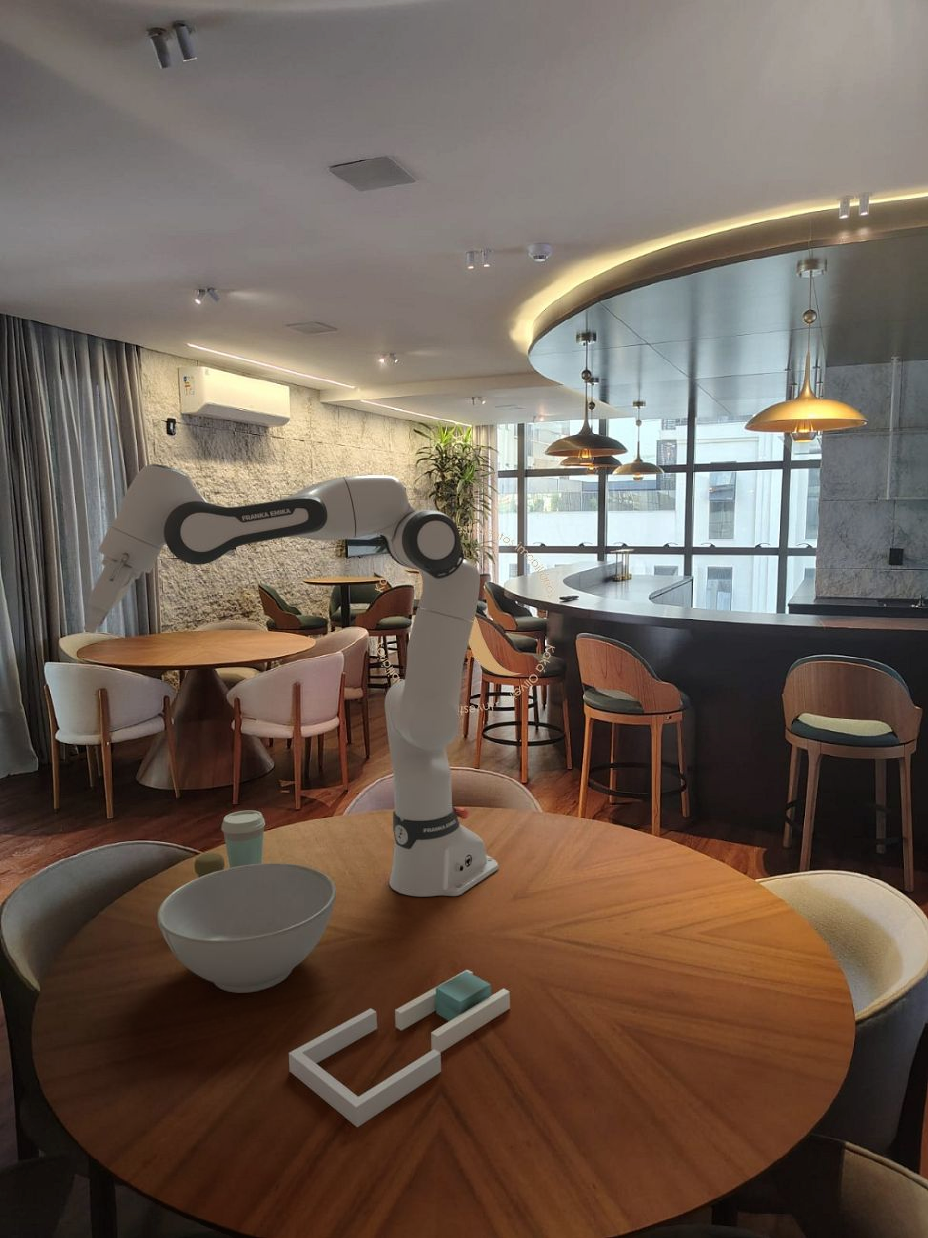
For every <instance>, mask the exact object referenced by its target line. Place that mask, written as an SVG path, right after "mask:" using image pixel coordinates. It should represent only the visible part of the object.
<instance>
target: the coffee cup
mask: <svg viewBox="0 0 928 1238" xmlns="http://www.w3.org/2000/svg"><path fill="white" fill-rule="evenodd" d="M265 825H266V822H265V818H264V816H263V814H262V813H261V812H260V811H257V810H252V809H251V810H239V811H238V810H237V811H234V812H232V813H229V814H227V815H225V816H224V817H223V821H222V823H221V828H220V829H221V831H222V833H223V838H224V843H225V847H226V853H227V858H228V863H229V868H233V867H238V866H244V865H251V864H262V863H263V862H262V861H263V846H264V845H263V844H264V831H265V829H264V827H265Z"/></svg>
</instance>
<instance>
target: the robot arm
mask: <svg viewBox="0 0 928 1238" xmlns="http://www.w3.org/2000/svg"><path fill="white" fill-rule="evenodd" d="M406 490H407V489H406V488H405V486H404V485H403V483H402V482H401V481H400V480H399V479H398V478H397V477H396V476H393V475H390V474H357V475H350V476H343V477H336V478H332V479H327V480H324V481H320V482H316V483H314V484H311V485H308V486H306V487H304V488H302V489H301V490H299V491H297V492H296V493H293V494H291V495H289V496H287V497H284V498H281V499H276V500H272V501H271V500H270V501H264V502H258V503H254V504H246V505H239V506H222V505H218V504H214V503H211V502H210V503H209V502H208V500H206V498H205V497H204V496H203V494H202V493H200V491H199V490H198V488H197V487H196V485H195V484H194V483H193V480H192V478H191V476H190V475H189V474H188V473H186V472H184V471H182V470H179V469H177V468H174V467H171V466H167V465H163V464H159V463H158V464H157V463H154V464H153V463H151V464H148V465H145V466H143V467H142V468H141V469H140V470H139V471H138V472H137V474H136V476H135V477H134V479H133V480H132V482H131V484H130V485H129V487H128V489H127V491H126V492H125V494H124V496H123V499H122V500H121V503H120V510H119V512H118V514H117V516H116V518H115V519H114V520H113V521H112V522H111V523H110V525H109V527H108V530H107V531H106V532H105V533H106V534H105V535H104V538H103V539H102V542H101V544H100V545H99V548H98V549H97V551H98V553H100V554H102V555H104V556H103V559H102V561H101V565H103V566H104V567H103V569H102V571H101V573H100V575H99V577H98V579H97V581H96V582H95V585H94V587H93V589H92V591H91V593H90V595H89V598H88V601H87V603H88V604H89V605H91V608H90V610H89V613H88V617H87V619H86V622H85V624H84V626H83V629H84V631H86V632H88V633H90V634H95V632H96V631H97V629H98V627H101V626H102V625H103V624H104V622H105V620H106V618H107V616H108V614H109V613H110V611H111V610H112V609H114V608H115V607H116V606H117V605H118V604H119V603H120V602H121V601H122V600H123V599H124V597H125V596H126V594H127V593H128V592H129V590H130V588H131V587H132V585H133V583H134V582H135V580H138V579H140V576H141V574H142V573H147V574H150V573H151V572H152V570H153V567H154V566H155V564H156V562H157V560H158V557H159V555H160V553H161V552H162V549H163V547H164V546H165V545H166V546H167V548H168V550H169V551H170V552H171V554H173V556H174V557H176V558H177V559H178V560H180V561H181V562H184V563H187V564H189V565H190V564H191V565H195V566H196V565H198V566H199V565H206V564H210V563H213V562H214V561H216V560H217V561H218V559H220V558H222V557H223V556H224V555H226V554H227V553H228V552H230V551H231V550H233V549H235V548H238V547H241V546H245V545H251V544H255V543H261V542H267V541H272V540H277V539H283V538H284V539H285V538H301V539H307V540H312V541H321V542H322V541H324V542H325V541H327V542H328V541H331V542H332V541H343V540H349V539H355V538H359V537H366V536H371V535H372V536H373V535H374V536H375V535H379V537H380V539H381V540H382V542H383V544H384V546H385V549H386V550H387V552H388V555H389V556H390V558H392V560H393V561H395V562H396V563H397V564H398V565H400V566H402V567H405V568H409V569H411V570H415V571H418V572H419V573H420V576H421V578H422V579H421V580H422V586H421V594H420V598H419V601H418V604H417V609H416V612H415V616H414V619H413V620H414V621H413V624H412V627H411V632H410V635H409V640H408V642H407V647H406V653H407V657H406V658H407V659H406V669H405V679H402V680H399V681H397V682H395V683H394V684H392V686H391V687H390V688H389V689H388V691H387V692H386V695H385V698H384V713H385V718H386V719H385V721H386V731H387V739H388V746H389V752H390V753H389V754H390V760H391V765H392V766H391V767H392V773H393V774H392V775H393V797H394V799H393V801H394V810H393V812H392V828H393V829H392V831H393V837H394V850H393V861H392V869H391V873H390V878H389V883H388V884H389V886H390V887H391V889H392V890H394V891H396V892H397V893H399V894H403V895H406V896H411V897H436V896H448V897H458V896H460V895H462V894H464V893H465V892H466V891H468V890H469V889H471V888H472V887H474V886H476V884H479V883H480V882H481V881H483V880H484V879H486V878H487V877H489V876H490V875H492V874H494V873H495V872H496V871H497V870H499V863H498V862H497V860H495V858H493V857H491V856H489V855H487V851H486V846H485V842H484V840H483V839H482V838H481V836H479V835H478V834H477V833H475V832H474V831H472V830H470V829H468V828H467V827H465V826H464V825H463V824H461V823H460V822H459V818H460V819H463V820H466V819H467V818H468V816H469V813H470V812H469V809H467V808H464V807H462V806H459V807H457V808H456V807H455V806H453V802H452V799H453V798H452V771H451V766H450V762H449V759H448V754H447V749H446V747H447V746H449V745H450V744H451V743H453V742H454V740H455V738H456V737H457V735H458V733H459V731H460V716H459V714H460V712H459V708H460V701H461V699H460V698H461V691H462V679H463V669H464V663H465V662H464V661H465V657H466V653H467V649H468V646H469V642H470V637H471V633H472V630H473V627H474V626H473V625H474V622H475V617H476V614H477V607H478V603H479V597H480V587H481V574H480V571H479V570H478V569H479V568H477V567H476V566H475V565H474V564H473V563H472V562H471V561H470V560H468V559H465V554H464V550H463V546H462V540H461V535H460V532H459V528H458V526H457V524H456V523H455V522H454V520H453V519H452V518H451V517H450V516H448V515H447V514H445V513H443V512H442V511H439V510H434V509H433V510H432V509H415V508H414V507H413V506H412V505H411V504H410V501H409V497H408V494H407V491H406Z"/></svg>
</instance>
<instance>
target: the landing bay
mask: <svg viewBox="0 0 928 1238" xmlns="http://www.w3.org/2000/svg"><path fill="white" fill-rule="evenodd" d="M377 1019H378V1018H377V1011H376V1010H374V1009H373V1008H372V1007H371V1008H370V1007H369V1009H367V1010H364V1011H363V1012H361V1013H359V1014H357V1015H356V1016H354V1017H352V1018H350V1019H349V1020H347V1021H345V1022H343V1023H341V1024H340V1025H337V1026H335V1027H334V1028H332V1029H330V1030H329V1031H328V1030H327V1032H325V1033H323V1034H321V1035H319V1036H317V1037H316V1038H313V1039H312V1040H310V1041H308V1042H306V1043H305V1044H303V1045H301V1046H299V1047H297V1048H295V1049H294V1050H292V1051H290V1052H288V1063H289V1066H288V1068H289V1072H290V1073H291V1074H292V1075H294V1076H295V1078H297V1079H298V1080H299V1081H301V1082H302V1083H303V1084H304V1085H306V1086H307V1087H308V1088H309V1089H310V1090H312V1091H313V1092H314V1093H315V1094H316V1095H318V1096H319V1097H320V1098H321V1099H322V1100H324V1101H325V1102H326V1103H327V1104H329V1105H330V1106H331V1107H332V1108H333V1109H335V1110H336V1111H337V1112H338V1113H339V1114H341V1116H343V1118H345V1119H347V1120H348V1121H349V1122H351V1124H353V1125H354V1126H355V1128H359V1127H360V1126H362V1125H363V1124H365V1123H366V1122H368V1121H369V1120H371V1119H373V1118H374V1117H375V1116H377V1115H378V1114H379V1113H382V1112H383V1111H384V1110H385V1109H387V1108H388V1107H390V1106H391V1105H393V1104H395V1103H396V1102H398V1101H399V1100H401V1099H402V1098H403V1097H405V1096H407V1095H408V1094H410V1093H411V1092H413V1091H414V1090H416V1089H418V1088H419V1087H420V1086H422V1085H423V1084H425V1083H426V1082H428V1081H429V1080H431V1079H432V1078H434V1077H435V1076H437V1075H438V1074H441V1072H442V1062H441V1061H442V1058H441V1053H442V1052H441V1053H439V1052H438V1051H436V1050H435V1049H433V1050H432V1049H431V1051H429V1052H427V1053H426V1054H424V1055H422V1056H420V1057H419V1058H418V1059H416V1060H414V1061H413V1062H412V1063H410V1064H408V1065H406V1066H405V1067H404V1068H402V1069H400V1070H399V1071H397V1072H395V1073H394V1074H392V1075H391V1076H389V1077H388V1078H386V1079H384V1080H382V1081H381V1082H380V1083H378V1084H377V1085H375V1086H374V1087H372V1088H370V1089H368V1090H367V1091H366V1092H363V1093H362V1094H360V1095H359V1096H358V1095H357V1094H356V1093H354V1092H352V1091H351V1090H350V1089H349V1088H347V1086H345V1085H344V1084H342V1083H341V1082H340V1081H338V1080H337V1079H336V1078H335V1077H333V1075H331V1074H330V1073H328V1071H326V1070H325V1069H323V1068H322V1067H321V1066H319V1065H318V1063H320V1062H321V1061H323V1060H325V1059H327V1058H329V1057H330V1056H332V1055H334V1054H335V1053H337V1052H339V1051H341V1050H342V1049H344V1048H346V1047H348V1046H349V1045H352V1044H353V1043H354V1042H355V1043H356V1041H358V1040H360V1039H361V1038H364V1037H365V1036H367V1035H369V1034H370V1033H372V1032H374V1031H376V1030H377V1029H378V1021H377Z"/></svg>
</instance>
